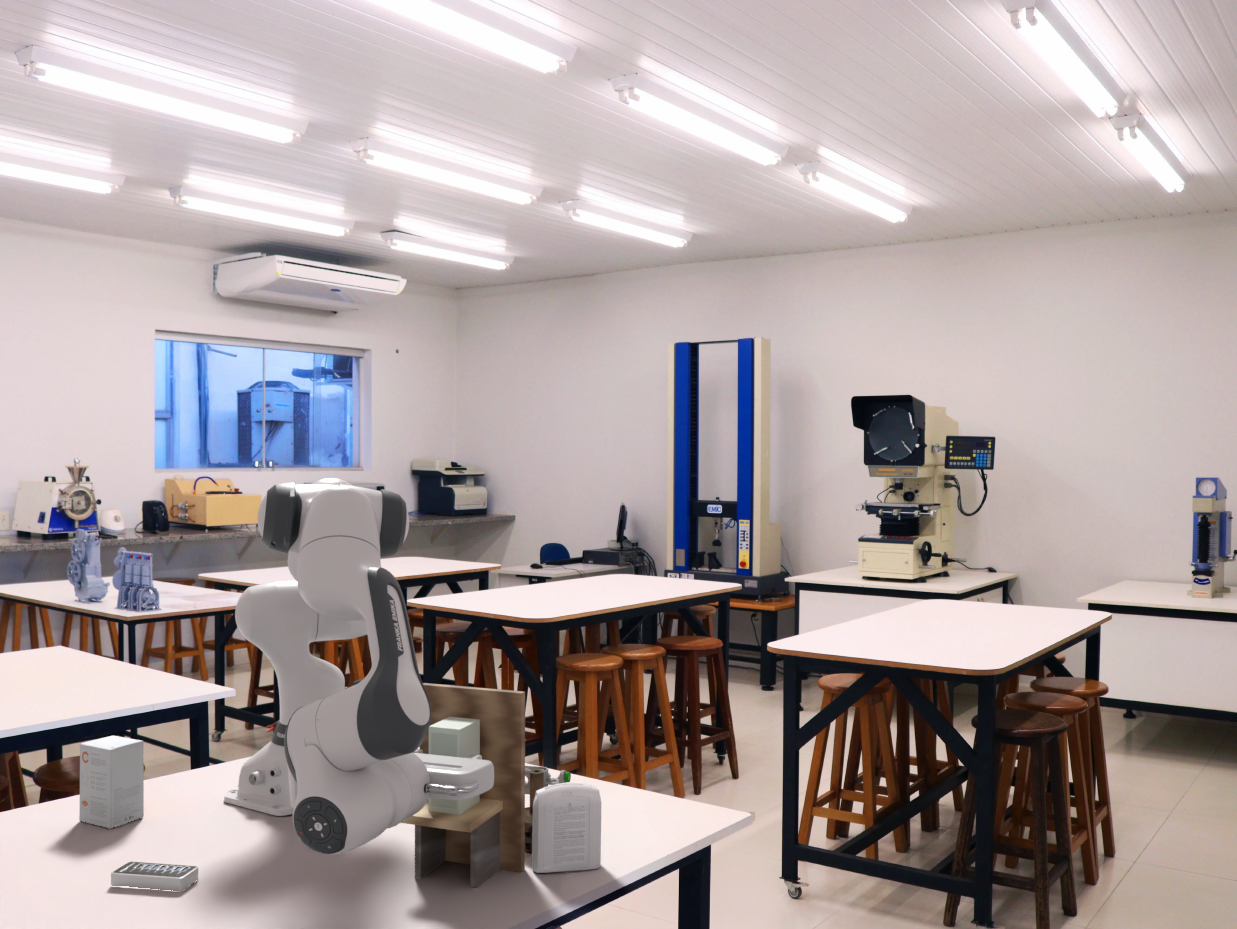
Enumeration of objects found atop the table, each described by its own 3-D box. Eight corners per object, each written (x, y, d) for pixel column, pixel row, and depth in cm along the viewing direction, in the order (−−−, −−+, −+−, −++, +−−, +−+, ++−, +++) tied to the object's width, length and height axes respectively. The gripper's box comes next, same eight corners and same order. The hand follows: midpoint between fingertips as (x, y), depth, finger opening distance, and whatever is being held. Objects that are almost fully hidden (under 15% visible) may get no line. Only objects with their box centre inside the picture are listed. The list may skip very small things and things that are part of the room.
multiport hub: (181, 895, 137) (181, 878, 137) (109, 889, 139) (109, 873, 139) (199, 882, 142) (199, 865, 142) (129, 876, 143) (129, 860, 143)
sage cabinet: (428, 811, 141) (428, 726, 141) (449, 797, 147) (449, 716, 147) (459, 815, 139) (459, 729, 139) (479, 801, 145) (479, 719, 145)
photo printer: (597, 859, 149) (598, 777, 149) (604, 870, 145) (604, 785, 145) (529, 865, 147) (530, 781, 147) (534, 876, 143) (534, 790, 143)
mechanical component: (567, 836, 159) (567, 773, 159) (505, 831, 161) (505, 769, 161) (571, 829, 161) (571, 768, 162) (511, 825, 164) (511, 764, 164)
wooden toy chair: (381, 882, 141) (382, 698, 141) (423, 853, 151) (423, 682, 151) (489, 900, 135) (489, 708, 135) (524, 869, 145) (525, 691, 146)
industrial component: (511, 840, 157) (511, 764, 157) (556, 837, 158) (557, 762, 158) (515, 863, 148) (516, 783, 148) (564, 860, 149) (564, 780, 149)
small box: (144, 817, 167) (144, 740, 167) (110, 830, 161) (110, 749, 161) (112, 810, 170) (113, 734, 170) (78, 821, 165) (78, 743, 165)
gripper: (466, 768, 124) (514, 741, 137) (328, 754, 131) (386, 729, 144) (466, 819, 124) (514, 787, 137) (328, 802, 131) (386, 772, 144)
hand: (447, 757), depth 141 cm, fingers open, 8 cm apart
